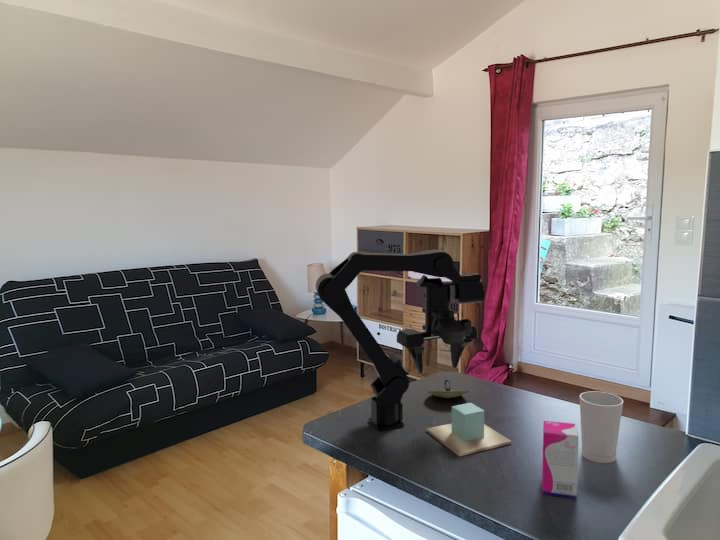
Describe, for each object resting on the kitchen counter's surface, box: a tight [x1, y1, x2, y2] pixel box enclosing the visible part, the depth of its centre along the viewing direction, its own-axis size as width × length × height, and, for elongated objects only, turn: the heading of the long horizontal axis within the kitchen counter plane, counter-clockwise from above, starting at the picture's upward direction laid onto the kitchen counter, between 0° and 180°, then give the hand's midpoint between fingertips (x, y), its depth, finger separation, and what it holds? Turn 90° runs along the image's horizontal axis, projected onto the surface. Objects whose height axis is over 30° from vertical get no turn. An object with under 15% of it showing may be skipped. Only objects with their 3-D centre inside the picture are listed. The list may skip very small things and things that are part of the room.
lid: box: [427, 379, 470, 399], centre depth 138 cm, size 11×10×5 cm
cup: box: [579, 390, 624, 464], centre depth 107 cm, size 8×8×12 cm
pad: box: [426, 422, 512, 457], centre depth 117 cm, size 13×13×1 cm
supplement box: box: [541, 420, 579, 500], centre depth 95 cm, size 6×6×12 cm
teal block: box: [451, 402, 485, 442], centre depth 116 cm, size 5×5×6 cm
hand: (437, 370), depth 125 cm, fingers open, 9 cm apart
